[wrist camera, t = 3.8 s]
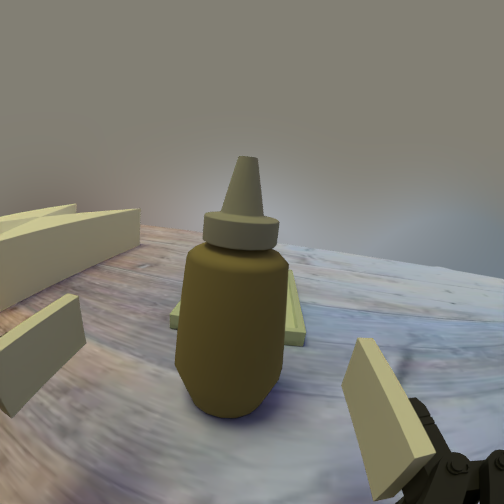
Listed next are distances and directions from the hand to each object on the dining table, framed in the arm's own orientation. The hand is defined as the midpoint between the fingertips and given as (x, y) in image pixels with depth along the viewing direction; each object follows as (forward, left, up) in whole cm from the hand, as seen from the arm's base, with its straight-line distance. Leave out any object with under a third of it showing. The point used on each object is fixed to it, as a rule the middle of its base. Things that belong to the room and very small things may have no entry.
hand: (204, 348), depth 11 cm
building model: (+21, -45, -10) cm, 50 cm away
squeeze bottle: (-4, -6, -10) cm, 12 cm away
